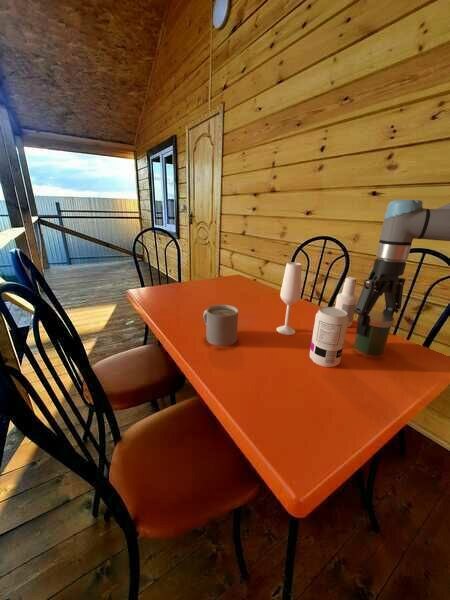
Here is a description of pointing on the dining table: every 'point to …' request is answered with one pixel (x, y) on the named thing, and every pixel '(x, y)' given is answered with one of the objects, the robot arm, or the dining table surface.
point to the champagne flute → (290, 292)
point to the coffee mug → (221, 324)
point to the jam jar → (372, 340)
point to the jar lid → (380, 319)
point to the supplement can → (328, 336)
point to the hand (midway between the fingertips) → (372, 332)
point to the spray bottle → (347, 299)
